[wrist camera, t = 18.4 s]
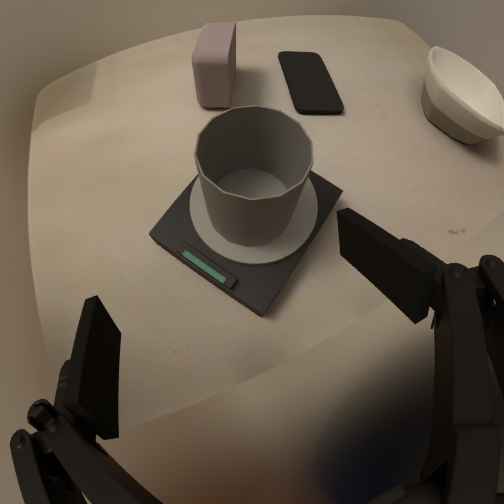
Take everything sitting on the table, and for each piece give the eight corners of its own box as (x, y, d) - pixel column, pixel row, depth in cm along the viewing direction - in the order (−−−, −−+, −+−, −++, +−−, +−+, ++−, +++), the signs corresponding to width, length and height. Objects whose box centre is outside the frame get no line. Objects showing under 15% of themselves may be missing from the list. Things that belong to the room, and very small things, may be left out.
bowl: (407, 68, 44) (425, 35, 35) (477, 110, 43) (499, 83, 34) (406, 124, 39) (432, 85, 30) (487, 172, 38) (518, 145, 29)
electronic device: (206, 68, 40) (202, 19, 31) (235, 69, 40) (236, 18, 31) (195, 111, 38) (187, 56, 28) (229, 112, 38) (227, 56, 28)
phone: (319, 52, 42) (346, 111, 37) (318, 56, 43) (344, 114, 38) (276, 51, 41) (296, 110, 37) (276, 54, 42) (295, 114, 38)
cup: (195, 232, 29) (175, 181, 19) (222, 163, 31) (217, 96, 21) (280, 256, 28) (301, 214, 19) (299, 183, 30) (322, 122, 21)
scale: (260, 317, 30) (264, 314, 26) (155, 242, 32) (145, 230, 28) (335, 202, 34) (346, 186, 30) (238, 144, 36) (238, 123, 32)
